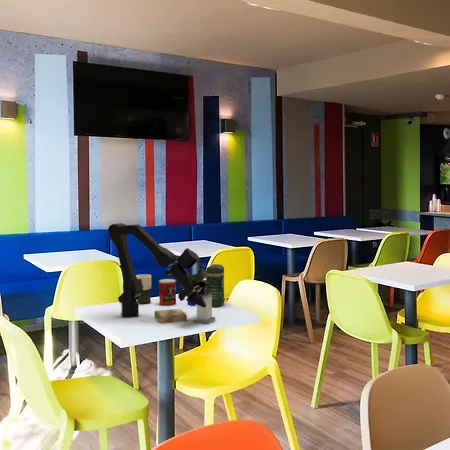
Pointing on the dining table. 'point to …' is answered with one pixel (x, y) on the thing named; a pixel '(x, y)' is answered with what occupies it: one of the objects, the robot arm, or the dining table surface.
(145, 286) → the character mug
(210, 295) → the steel housing
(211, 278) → the coffee jar
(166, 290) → the canned food
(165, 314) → the light tan tray
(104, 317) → the dining table surface
